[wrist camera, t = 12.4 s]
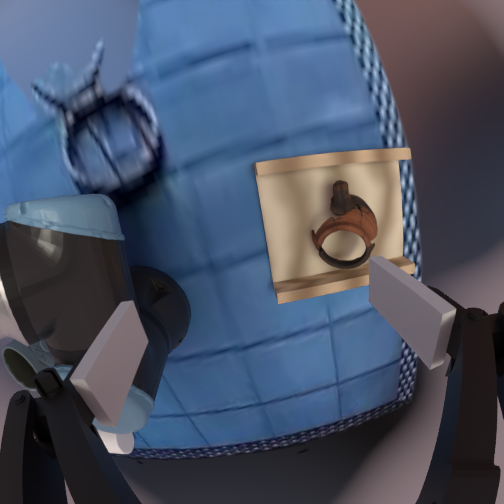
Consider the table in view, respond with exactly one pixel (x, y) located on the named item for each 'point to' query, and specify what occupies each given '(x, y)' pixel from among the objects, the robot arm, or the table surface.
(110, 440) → the white cylinder
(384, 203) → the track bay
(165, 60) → the table surface
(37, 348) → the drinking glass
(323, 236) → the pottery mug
